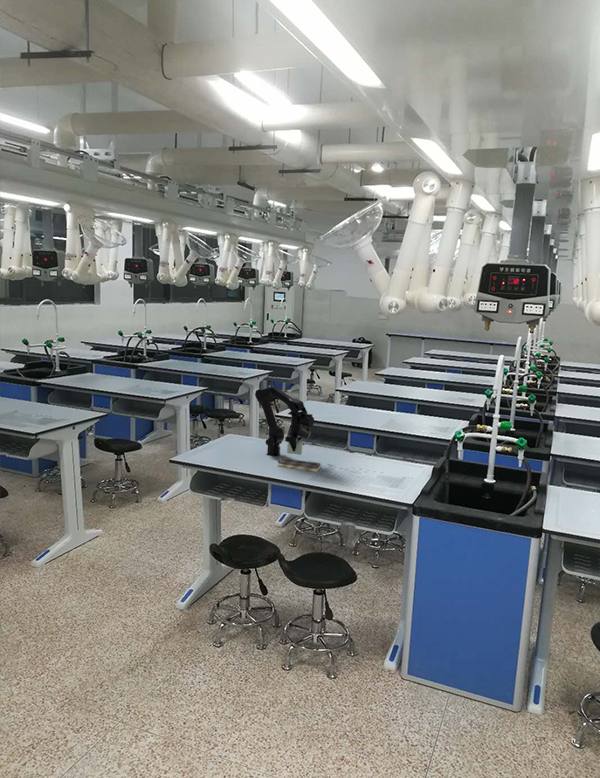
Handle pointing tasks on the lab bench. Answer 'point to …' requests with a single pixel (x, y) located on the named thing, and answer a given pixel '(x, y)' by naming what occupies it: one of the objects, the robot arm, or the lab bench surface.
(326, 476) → the lab bench surface
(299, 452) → the door panel
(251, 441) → the lab bench surface
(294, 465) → the track
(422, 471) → the lab bench surface
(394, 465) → the lab bench surface
